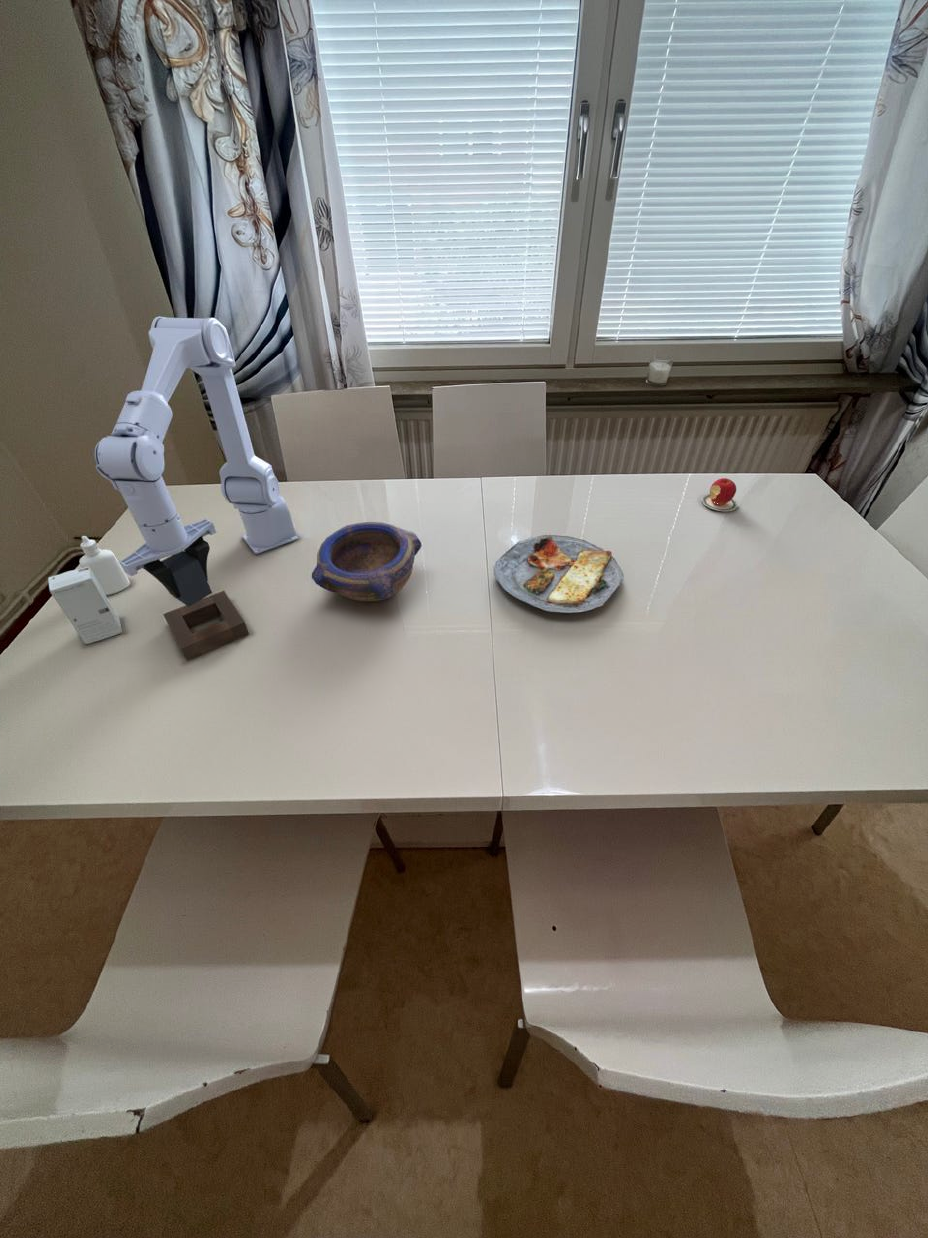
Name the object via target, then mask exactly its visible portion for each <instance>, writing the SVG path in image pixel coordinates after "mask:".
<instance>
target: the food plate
mask: <svg viewBox="0 0 928 1238" xmlns="http://www.w3.org/2000/svg"><path fill="white" fill-rule="evenodd" d="M492 571H493V576H494V578H495V580H496V581H497V582H498V583H499V584H500V585H501V587H502V589H503V590H504V591H505V592H506V593H507V592H508V594H509V595H511V596H512V597H514V598H515V599H517V600H520V601H522V602H524V603H525V604H528V605H529V606H532V607H535V608H538V609H541V610H543V611H545V612H549V613H550V612H551V613H565V614H566V613H567V614H568V613H570V614H574V613H581V612H587V611H591V610H594V609H596V608H597V609H598V608H599V607H601V608H602V606H604V605H605V604H606V603H607V601H608V600H609V598H611V597H612V595H613V594H614V593H615V591H616V590H617V589H618V587H619V586H620V585H621V584H622V582H623V581H624V573H623V570H622V569H621V567H620V565H619V564H618V562H617V561H616V559H615V557H614V556H613V553H612V551H611V550H605V549H603V548H602V547H600V546H597V545H596V544H593V543H591V542H589V541H587V540H585V539H581V538H579V537H573V536H568V535H556V534H555V535H554V534H543V535H538V536H534V537H528V538H526V539H524V540H519V541H518V542H516V543H514V545H513V546H512V547H511V548H509V549H508V550H507V551H505V553H504V554H503V555H501V557H499V558H498V559H497V560H496V561H495V563H494V565H493V570H492Z"/></svg>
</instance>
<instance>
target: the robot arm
mask: <svg viewBox="0 0 928 1238" xmlns="http://www.w3.org/2000/svg"><path fill="white" fill-rule="evenodd" d="M148 339H149V343H150V345H151V348H152V352H151V356H150V359H149V363H148V366H147V370H146V373H145V377H144V378H143V379H144V380H143V383H142V386H141V389H140V390H133V391H130V392H129V393H127V396H126V397H125V402H124V405H123V407H122V408H121V411H120V413H119V416H118V418H117V420H116V423H115V425H114V427H113V430H112V432H111V434H110V435H106V436H105V437H103V438H102V439H101V440H100V441H98V442H97V443H96V445H95V447H94V460H95V463H96V466H95V469H96V471H97V472H98V473H99V475H100V476H102V478H104V479H106V480H107V481H109V482H110V483H111V485H112V487H113V489H114V490H116V492H119V493H120V494H121V497H122V498H123V500H124V502H125V504H126V506H127V508H128V510H129V512H130V514H131V515H132V518H133V520H134V522H135V524H136V525H137V528H138V530H139V531H140V533H141V535H142V537H143V540H144V541H145V543H143V544H142V545H141V546H140V547H138V548H137V549H136V550H135V551H134V552H132V553H131V554H130V555H128V556H127V557H125V558H122V559H121V560H118V562H119V564H120V566H121V567H122V569H123V571H124V573H125V574H126V575H128V576H130V577H134V576H136V575H137V574H138V573H139V572H138V571H140V570H142V569H143V570H144V571H146V572H147V573H149V574H150V575H151V576H153V578H155V579H156V580H157V581H158V582H160V584H162V586H163V587H164V588H165V589H166V590H167V591H168V593H169V594H170V595H171V596H172V597H173V596H174V597H173V598H175V597H176V598H179V597H181V596H180V593H179V590H178V588H177V586H176V585H175V583H174V580H173V578H172V574H171V570H170V568H169V567H167V566H166V565H164V563H163V562H161V561H162V560H163V559H166V558H168V557H170V556H172V555H174V554H177V553H180V552H182V551H184V552H186V553H188V554H189V555H191V556H193V557H194V558H196V559H198V561H199V563H200V565H201V568H202V570H203V572H204V575H205V577H206V579H207V581H209V578H208V557H209V553H210V550H211V548H210V547H211V546H210V544H209V542H208V541H206V540H205V539H204V537H206V536H207V535H210V536H212V535H215V534H216V533H217V530H216V526H215V525H214V522H213V521H210V520H209V519H207V518H204V519H203V520H200V521H197V522H194V523H190V524H188V525H184V524H183V522H182V519H181V517H180V515H179V512H178V510H177V508H176V506H175V503H174V501H173V499H172V496H171V494H170V492H169V490H168V487H167V485H166V482H165V480H164V479H163V476H162V474H163V473H164V471H165V464H166V463H165V456H164V455H165V454H164V453H165V450H166V449H165V445H164V444H163V442H164V440H165V438H166V435H167V432H168V429H169V427H170V424H171V421H172V419H173V416H174V413H173V410H172V408H171V406H170V405H169V401H170V399H171V398H172V396H173V394H174V392H175V390H176V388H177V387H178V384H179V382H180V381H181V379H182V377H183V375H184V373H185V371H186V369H190V370H192V371H193V372H194V373H196V374H198V375H199V377H201V380H202V382H203V386H204V389H205V392H206V396H207V399H208V403H209V406H210V409H211V412H212V415H213V419H214V423H215V425H216V429H217V432H218V435H219V438H220V442H221V445H222V448H223V453H224V455H225V459H226V462H225V463H224V464H223V465H222V466H221V468H220V470H219V472H218V473H219V477H220V489H221V493H222V497H224V498H223V499H224V500H226V502H228V503H229V504H232V505H233V508H234V509H237V510H238V512H239V516H240V519H241V521H242V524H243V528H244V530H245V534H244V535H243V536H242V539H243V540H244V542H245V543H246V544H247V545H248V546H249V548H250V549H251V550H252V552H253V553H254V554H255V555H258V554H261V553H264V552H267V551H269V550H272V549H275V548H277V547H280V546H283V545H287V544H289V543H291V542H294V541H297V540H298V536H297V534H296V531H295V527H294V523H293V520H292V516H291V512H290V509H289V507H288V504H287V503H286V500H284V498H283V496H281V495H280V494H281V489H280V487H281V486H280V483H279V481H278V478H277V476H276V475H275V473H274V470H273V467H272V465H271V464H269V463H268V462H267V461H265V460H263V459H262V458H260V457H258V456H256V454H255V451H254V447H253V444H252V440H251V437H250V432H249V429H248V425H247V422H246V417H245V414H244V411H243V407H242V401H241V399H240V395H239V392H238V388H237V384H236V379H235V376H234V372H233V370H232V369H233V368H235V367H236V365H237V364H236V361H235V355H234V352H233V348H232V344H231V341H230V337H229V333H228V330H227V328H226V327H225V326H224V325H223V324H222V323H221V322H220V321H219V320H218V319H216V318H215V317H207V318H197V317H196V318H195V317H194V318H193V317H165V316H156V317H155V318H154V319H153V320H152V322H151V325H150V329H149V331H148ZM161 559H162V560H161ZM176 598H175V599H176Z"/></svg>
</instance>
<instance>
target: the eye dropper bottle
mask: <svg viewBox="0 0 928 1238" xmlns="http://www.w3.org/2000/svg"><path fill="white" fill-rule="evenodd" d="M81 540H82V542H81V543H80V545H79V546H80V549H81V550H82V551H83V553H84V555H83V556H82V557H80V558H79V565H80V567H81V568H85V567H90V569H91V571H92V573H93V574H94V576H95V578H96V580H97V581H98V583H99V585H100V586H101V588H102V590H103V592H104V593H105V595H106V596H109V595H114V594H116V593H119V592H121V591H123V590H125V589H127V588H129V587H130V585H131V581H130V580H129V578H128V576H127V573H126V572H125V571H124V569H123V568H122V566H121V564H120V562H119V560H118V558H117V557H116V555H115V554H114V552H113V551H112V550H111V549H105V548H103V549H101V548H100V546H99V544H98V543H97V541H96V540H94V539H89V537H88V536H86V535H82V536H81Z"/></svg>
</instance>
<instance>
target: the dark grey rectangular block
mask: <svg viewBox="0 0 928 1238" xmlns="http://www.w3.org/2000/svg"><path fill="white" fill-rule="evenodd" d="M160 561H161V562H163V563H164V565H166V566H167V567H169V568H170V570H171V574H172V578H173V580H174V583H175V585H176V586H177V588H178V590H179V593H180V596H181V597H179V598H176V597H174V596H173V595H172V597H173V598H174V599H176V600H178V601H179V602H181V603H182V604H184V606H185V605H187V606H188V607H189V606H191V605H193V604H194V603H196V602H198V601H200V600H201V599H203V598H206V597H208V596H211V595H212V594H213V591H212V588H211V586H210V584H209V582H208V581H209V580H208V581H207V579H206V577H205V575H204V572H203V570H202V568H201V565H200V563H199V561H198V559H196V558H194V557H193V556H191V555H189V554H188V553H186V552H184V550H183V551H182V552H180V553H177V554H174V555H171V556H168V557H165V558H163V559H162V560H160Z"/></svg>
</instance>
